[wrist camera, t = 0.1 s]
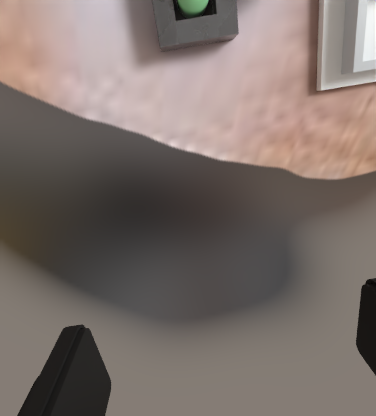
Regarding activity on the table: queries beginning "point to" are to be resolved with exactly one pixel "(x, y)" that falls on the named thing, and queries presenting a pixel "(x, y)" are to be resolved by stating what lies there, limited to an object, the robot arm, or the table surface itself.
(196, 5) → the button
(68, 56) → the table surface
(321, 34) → the white square tray
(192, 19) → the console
